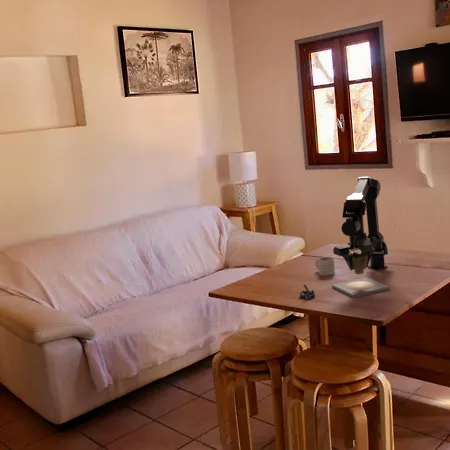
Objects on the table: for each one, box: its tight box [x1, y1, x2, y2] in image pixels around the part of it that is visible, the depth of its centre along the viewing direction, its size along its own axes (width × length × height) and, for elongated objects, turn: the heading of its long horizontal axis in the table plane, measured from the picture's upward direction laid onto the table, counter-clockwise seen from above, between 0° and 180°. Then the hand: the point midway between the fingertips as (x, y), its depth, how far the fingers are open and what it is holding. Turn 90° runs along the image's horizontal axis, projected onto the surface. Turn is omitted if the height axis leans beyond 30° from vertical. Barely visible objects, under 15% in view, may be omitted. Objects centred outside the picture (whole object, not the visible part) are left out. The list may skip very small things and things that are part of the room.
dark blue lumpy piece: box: [298, 284, 316, 301], centre depth 229 cm, size 8×7×8 cm
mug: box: [315, 256, 336, 277], centre depth 259 cm, size 10×7×7 cm, turn 33°
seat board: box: [331, 277, 390, 299], centre depth 232 cm, size 16×16×1 cm
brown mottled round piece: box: [351, 251, 368, 275], centre depth 230 cm, size 8×7×8 cm
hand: (358, 268), depth 231 cm, fingers closed on brown mottled round piece, 6 cm apart
